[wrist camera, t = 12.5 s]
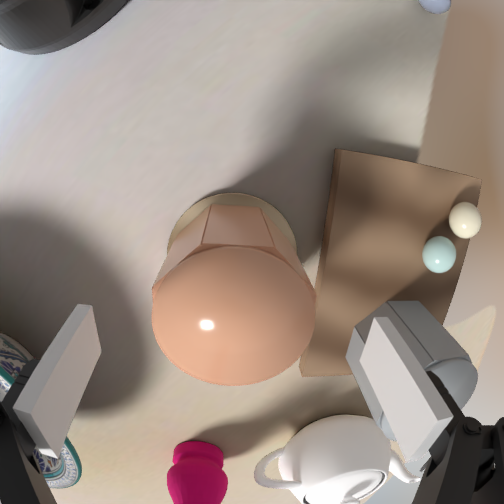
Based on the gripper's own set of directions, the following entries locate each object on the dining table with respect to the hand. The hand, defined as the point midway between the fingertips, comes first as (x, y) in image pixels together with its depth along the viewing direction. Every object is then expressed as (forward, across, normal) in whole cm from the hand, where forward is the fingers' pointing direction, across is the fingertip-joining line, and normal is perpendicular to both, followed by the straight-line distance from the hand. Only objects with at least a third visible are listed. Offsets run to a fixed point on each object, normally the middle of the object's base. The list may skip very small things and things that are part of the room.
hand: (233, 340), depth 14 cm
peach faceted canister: (+11, 0, -1) cm, 11 cm away
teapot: (+11, +14, -25) cm, 31 cm away
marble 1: (+12, +15, +23) cm, 30 cm away
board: (+12, +14, -2) cm, 18 cm away
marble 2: (+9, +15, +2) cm, 18 cm away
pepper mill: (+11, -3, -28) cm, 30 cm away
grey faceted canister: (+10, +15, -8) cm, 20 cm away
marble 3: (+9, +17, +5) cm, 20 cm away
